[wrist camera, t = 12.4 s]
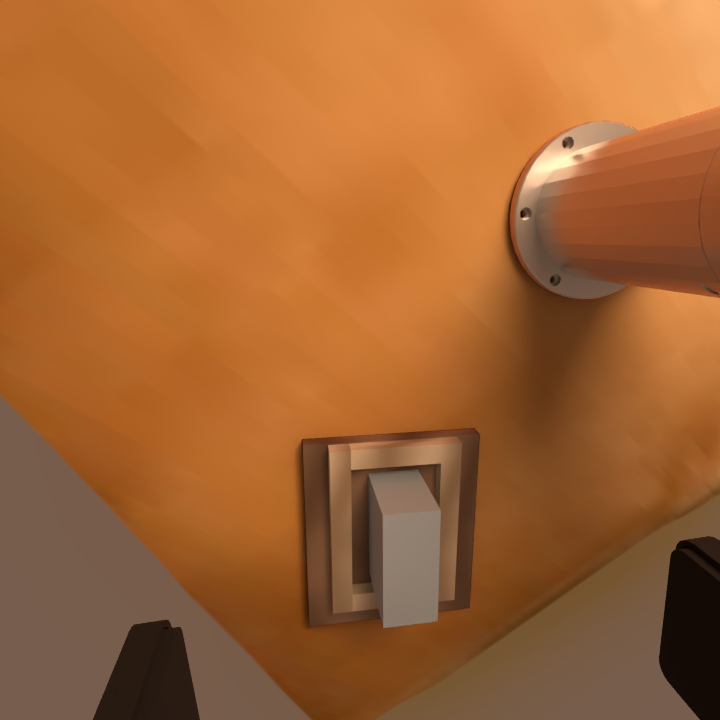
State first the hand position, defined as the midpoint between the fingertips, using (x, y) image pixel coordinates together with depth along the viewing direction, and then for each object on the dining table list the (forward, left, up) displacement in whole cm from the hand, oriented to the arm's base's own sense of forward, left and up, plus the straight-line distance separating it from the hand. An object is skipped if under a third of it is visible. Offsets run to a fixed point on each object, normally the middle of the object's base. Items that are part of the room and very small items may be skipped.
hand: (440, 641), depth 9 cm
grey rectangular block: (-5, +15, -27) cm, 31 cm away
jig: (-5, +16, -28) cm, 33 cm away
